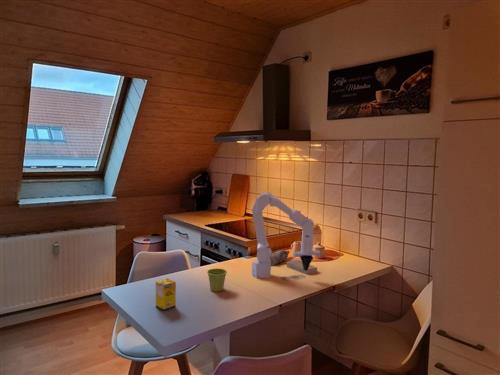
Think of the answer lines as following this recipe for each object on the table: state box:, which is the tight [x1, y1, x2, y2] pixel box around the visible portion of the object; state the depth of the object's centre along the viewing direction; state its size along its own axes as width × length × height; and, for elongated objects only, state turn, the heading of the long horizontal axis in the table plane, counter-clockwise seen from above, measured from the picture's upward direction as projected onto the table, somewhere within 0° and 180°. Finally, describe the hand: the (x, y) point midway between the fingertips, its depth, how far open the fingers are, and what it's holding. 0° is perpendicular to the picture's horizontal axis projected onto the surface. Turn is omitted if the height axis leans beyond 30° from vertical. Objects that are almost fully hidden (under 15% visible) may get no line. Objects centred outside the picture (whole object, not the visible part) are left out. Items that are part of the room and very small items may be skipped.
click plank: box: [285, 277, 307, 282], centre depth 189 cm, size 12×7×1 cm, turn 113°
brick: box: [286, 259, 318, 276], centre depth 208 cm, size 17×8×5 cm, turn 37°
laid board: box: [280, 274, 306, 281], centre depth 194 cm, size 13×4×1 cm, turn 113°
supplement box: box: [155, 278, 177, 312], centre depth 156 cm, size 6×6×11 cm
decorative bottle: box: [270, 249, 290, 267], centre depth 225 cm, size 26×8×7 cm, turn 148°
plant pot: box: [206, 268, 228, 292], centre depth 177 cm, size 9×9×9 cm
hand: (305, 269), depth 191 cm, fingers closed
